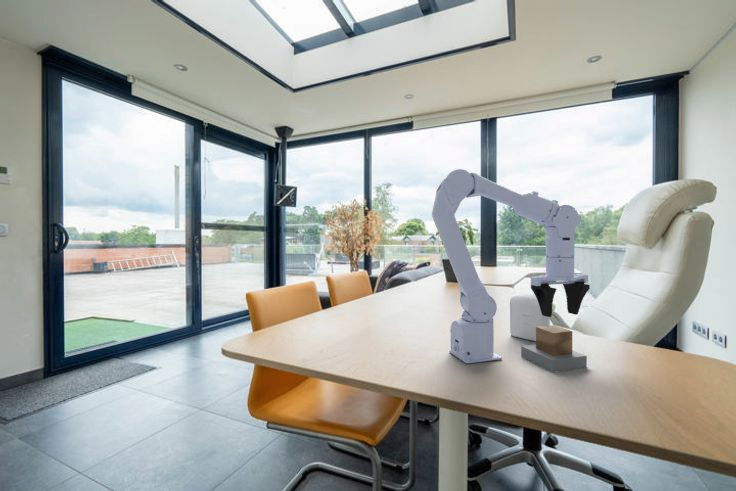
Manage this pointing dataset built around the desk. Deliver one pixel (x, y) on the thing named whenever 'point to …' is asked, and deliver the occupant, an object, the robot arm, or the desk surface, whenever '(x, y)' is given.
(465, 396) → the desk surface
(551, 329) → the walnut cube
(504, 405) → the desk surface
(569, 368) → the base slab
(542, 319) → the photo printer
